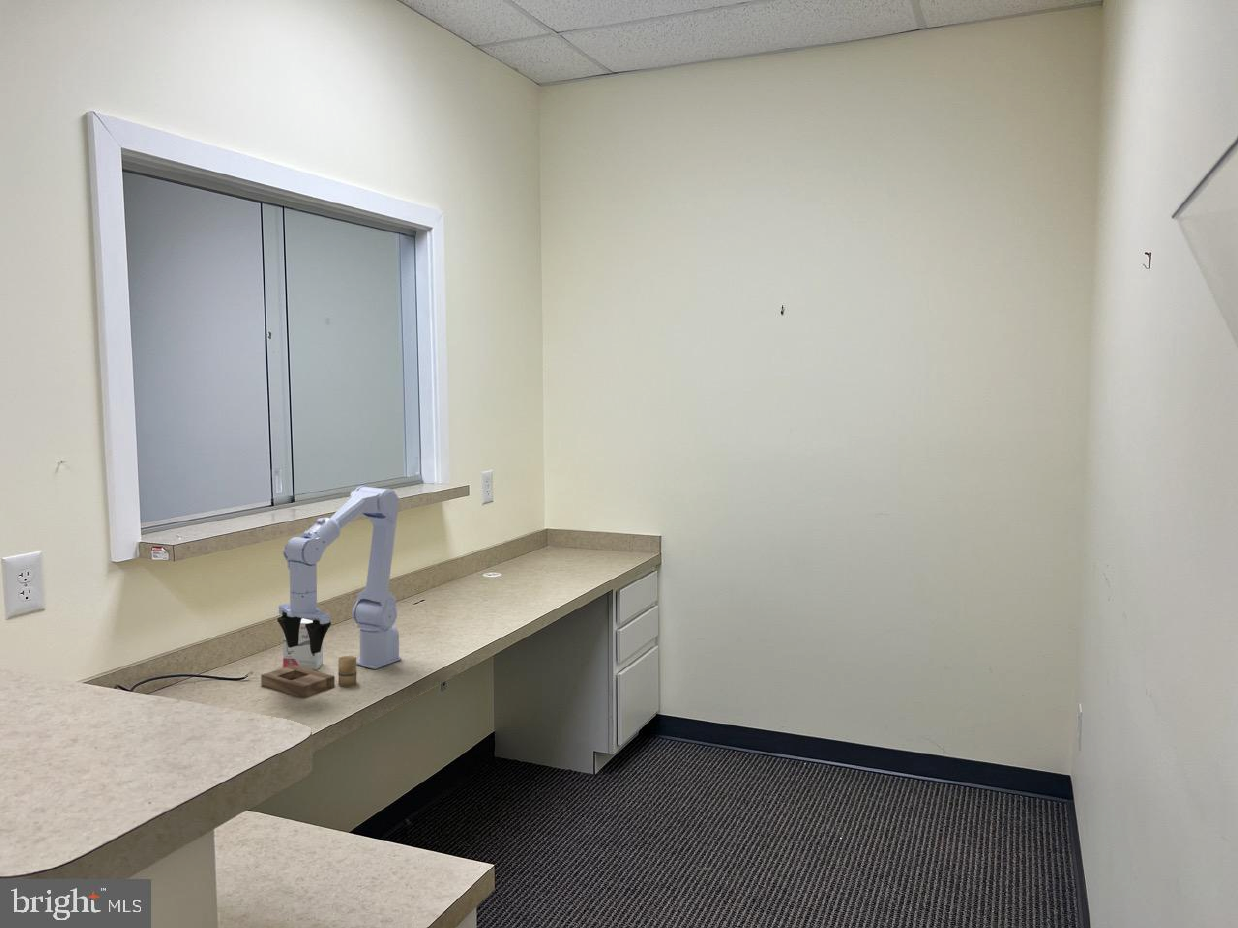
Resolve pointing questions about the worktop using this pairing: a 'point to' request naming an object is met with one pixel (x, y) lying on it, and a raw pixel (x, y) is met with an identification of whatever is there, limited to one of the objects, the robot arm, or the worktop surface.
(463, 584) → the worktop surface
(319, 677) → the board
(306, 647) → the ink box
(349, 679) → the peg
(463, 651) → the worktop surface
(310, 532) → the robot arm
